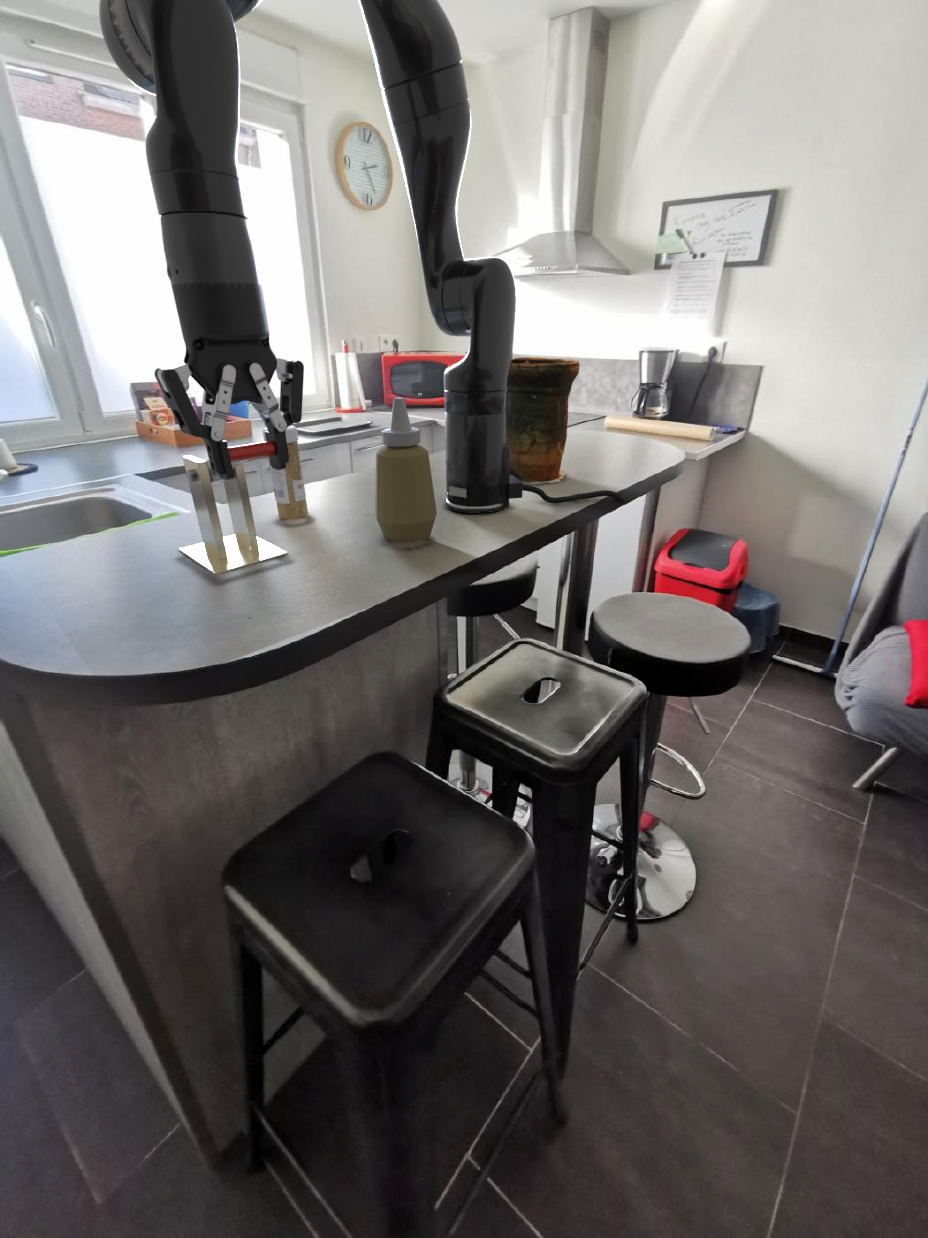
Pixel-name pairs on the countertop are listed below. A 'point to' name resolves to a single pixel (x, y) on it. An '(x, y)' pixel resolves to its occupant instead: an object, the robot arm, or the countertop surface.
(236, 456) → the lever
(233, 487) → the metal stand
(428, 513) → the squeeze bottle
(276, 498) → the sprinkles bottle
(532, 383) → the vessel
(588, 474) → the countertop surface
